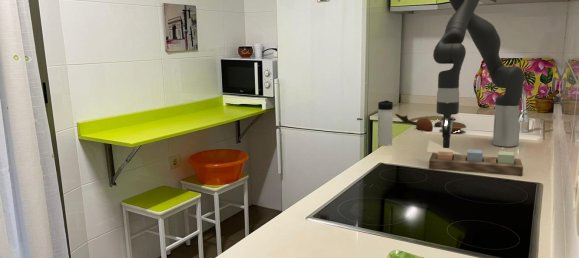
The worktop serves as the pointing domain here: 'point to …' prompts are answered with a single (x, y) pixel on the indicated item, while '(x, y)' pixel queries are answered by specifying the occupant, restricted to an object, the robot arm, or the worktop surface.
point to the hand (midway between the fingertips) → (446, 147)
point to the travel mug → (385, 123)
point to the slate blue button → (474, 155)
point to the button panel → (476, 165)
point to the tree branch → (406, 120)
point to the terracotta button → (445, 155)
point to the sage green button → (506, 157)
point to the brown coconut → (456, 126)
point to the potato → (424, 125)
